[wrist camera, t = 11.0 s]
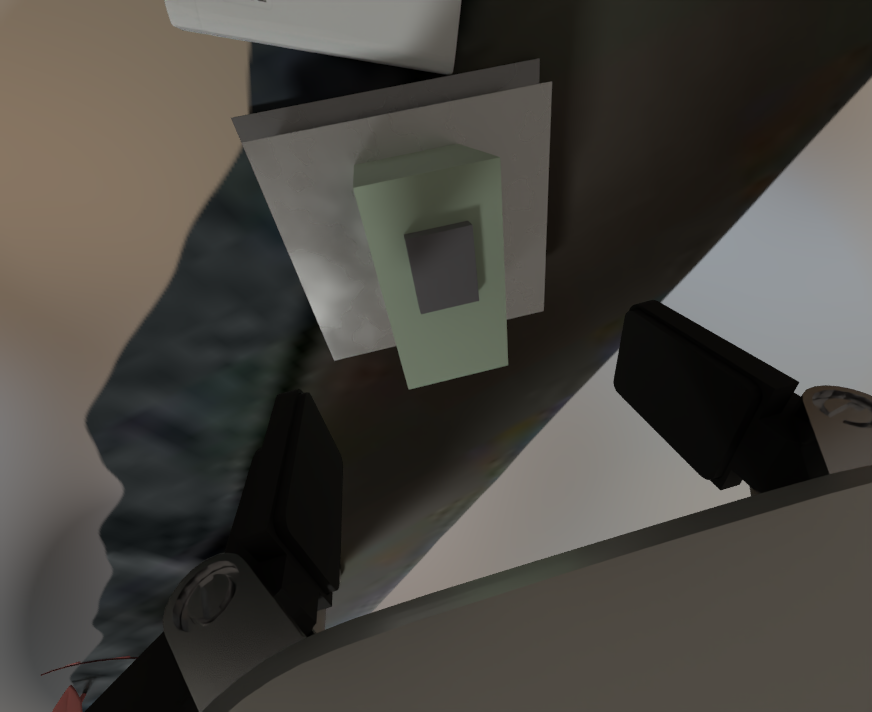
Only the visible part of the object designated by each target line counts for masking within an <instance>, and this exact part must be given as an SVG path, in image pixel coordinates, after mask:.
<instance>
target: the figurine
mask: <svg viewBox="0 0 872 712" xmlns="http://www.w3.org/2000/svg"><path fill="white" fill-rule="evenodd" d="M126 657H128V658H125V657H118V658H112V659H103V660H95V661H89V662H83V663H80V662H76V663H78V664H76V663H73V664H74V665H72V664H71V665H70V666H75V665H79V664H85V663H91V662H97V661H106V660H116V659H137V658H138V657H130V656H126ZM70 666H65V667H63V668H66V667H70ZM59 669H62V668H59ZM59 669H55V670H52V671H56V670H59ZM52 671H49V672H47V673H50V672H52ZM47 673H44V674H47ZM44 674H41V676H42V675H44ZM85 696H86V693H83V694H82V695H81V697H79V695H78V694H77V692H76V690H75V689H74V687H73V686H72V685H70V686H69V687H68V689H67V690H66V691H65V692H64V694H63V695H62V697H61V698H60V700H59V702H58V703H57V705H56V706H55V708H54V709H53V712H82V702H83V700H84V698H85Z"/></svg>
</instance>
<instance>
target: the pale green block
mask: <svg viewBox="0 0 872 712" xmlns="http://www.w3.org/2000/svg"><path fill="white" fill-rule="evenodd" d="M353 190H354V194H355V197H356V201H357V205H358V208H359V212H360V215H361V219H362V223H363V226H364V230H365V234H366V237H367V241H368V244H369V248H370V252H371V255H372V259H373V263H374V266H375V270H376V273H377V277H378V281H379V284H380V288H381V292H382V295H383V299H384V302H385V306H386V310H387V313H388V317H389V320H390V324H391V328H392V331H393V335H394V339H395V342H396V346H397V349H398V353H399V357H400V360H401V364H402V368H403V371H404V375H405V378H406V382H407V386H408V389H409V390H410V389H414V388H418V387H422V386H426V385H430V384H434V383H438V382H442V381H446V380H450V379H454V378H458V377H462V376H467V375H471V374H475V373H479V372H483V371H487V370H491V369H495V368H499V367H503V366H507V365H508V346H507V320H506V294H505V267H504V241H503V215H502V189H501V162H500V157H498V156H495V155H492V154H489V153H486V152H483V151H479V150H476V149H473V148H470V147H467V146H464V145H461V144H453V145H449V146H444V147H439V148H434V149H429V150H424V151H419V152H414V153H410V154H405V155H400V156H395V157H390V158H385V159H380V160H375V161H370V162H366V163H361V164H356V165H354V175H353Z"/></svg>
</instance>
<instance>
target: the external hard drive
mask: <svg viewBox="0 0 872 712" xmlns="http://www.w3.org/2000/svg"><path fill="white" fill-rule="evenodd" d="M164 1H165V5H166V9H167V12H168V15H169V18H170V21H171V24H172V25H173V26H175V27H177V28H179V29H181V30H183V31H189V32H195V33H200V34H207V35H212V36H218V37H224V38H230V39H235V40H242V41H247V42H256V43H262V44H268V45H274V46H280V47H285V48H290V49H296V50H302V51H308V52H314V53H320V54H326V55H332V56H338V57H344V58H350V59H355V60H361V61H367V62H373V63H379V64H385V65H391V66H396V67H402V68H408V69H414V70H420V71H426V72H432V73H439V74H444V75H450V74H452V73H453V69H454V63H455V54H456V45H457V36H458V27H459V18H460V10H461V0H164Z"/></svg>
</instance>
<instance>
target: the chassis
mask: <svg viewBox="0 0 872 712" xmlns="http://www.w3.org/2000/svg"><path fill="white" fill-rule="evenodd" d="M539 75H540V58H538V59H533V60H528V61H523V62H518V63H513V64H507V65H502V66H497V67H492V68H487V69H481V70H476V71H471V72H466V73H461V74H456V75H450V76H445V77H440V78H435V79H430V80H425V81H419V82H414V83H409V84H404V85H399V86H394V87H388V88H383V89H378V90H373V91H368V92H362V93H357V94H352V95H347V96H342V97H337V98H331V99H326V100H321V101H316V102H311V103H306V104H300V105H295V106H290V107H285V108H280V109H275V110H269V111H264V112H259V113H254V114H249V115H243V116H238V117H234V118H231V119H232V121H233V124H234V126H235V128H236V131H237V133H238V135H239V138H240V140H241V143H242V145H243V147H244V150H245V152H246V154H247V157H248V159H249V161H250V164H251V166H252V168H253V171H254V173H255V176H256V178H257V180H258V183H259V185H260V187H261V190H262V192H263V194H264V197H265V199H266V201H267V204H268V206H269V209H270V211H271V213H272V216H273V218H274V220H275V223H276V225H277V227H278V230H279V232H280V234H281V237H282V239H283V242H284V244H285V246H286V249H287V251H288V253H289V256H290V258H291V260H292V263H293V265H294V267H295V270H296V272H297V275H298V277H299V279H300V282H301V284H302V286H303V289H304V291H305V293H306V296H307V298H308V300H309V303H310V305H311V308H312V310H313V312H314V315H315V317H316V319H317V322H318V324H319V326H320V329H321V331H322V333H323V336H324V338H325V341H326V343H327V345H328V347H329V349H330V352H331V354H332V357H333V359H334V361H335V360H339V359H344V358H348V357H352V356H356V355H360V354H365V353H369V352H373V351H377V350H381V349H386V348H390V347H394V346H396V342H395V339H394V335H393V331H392V328H391V324H390V320H389V317H388V313H387V310H386V306H385V302H384V299H383V295H382V292H381V288H380V284H379V281H378V277H377V273H376V270H375V266H374V263H373V259H372V255H371V252H370V248H369V244H368V241H367V237H366V234H365V230H364V226H363V223H362V219H361V215H360V212H359V208H358V205H357V201H356V197H355V194H354V190H353V175H354V165H356V164H361V163H366V162H370V161H375V160H380V159H385V158H390V157H395V156H400V155H405V154H410V153H414V152H419V151H424V150H429V149H434V148H439V147H444V146H449V145H453V144H461V145H464V146H467V147H470V148H473V149H476V150H479V151H483V152H486V153H489V154H492V155H495V156H498V157H500V162H501V189H502V215H503V241H504V267H505V294H506V320H508V319H512V318H516V317H520V316H524V315H529V314H533V313H537V312H541V311H544V290H545V262H546V235H547V207H548V180H549V153H550V125H551V98H552V81H551V82H544V83H539Z"/></svg>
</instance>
